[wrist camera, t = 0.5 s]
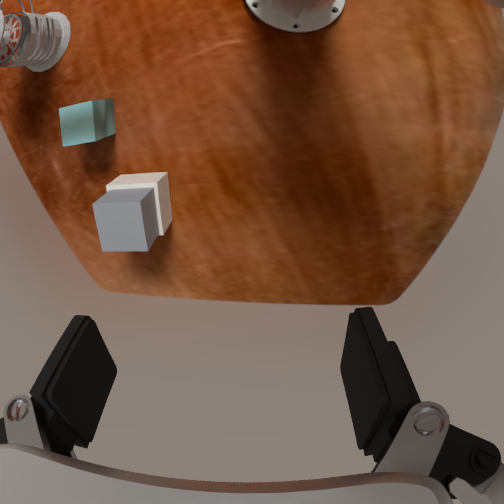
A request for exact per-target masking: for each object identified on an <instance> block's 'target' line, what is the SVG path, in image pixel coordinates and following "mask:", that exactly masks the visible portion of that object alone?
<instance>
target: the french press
mask: <svg viewBox="0 0 504 504" xmlns="http://www.w3.org/2000/svg"><path fill="white" fill-rule="evenodd" d="M3 1H4V0H2V1H1V2H0V5H1V4H2V2H3ZM18 1H19V2H20V3H21V5H22V8H23V12H17V13H23V15H24V16H22V15H17V14H16V13H9V14H6V15H5V16H4V15H3V12H2V11H4V10H5V9H3V8H0V66H1V67H12V66H26V67H28V68H29V69H30V70H32V71H34V72H43V71H45V70H47V69H49V68H51V67H52V66H53V65H54V64H56V63H57V62H58V61H59V60H60V59H61V57H62V55H63V54H64V52H65V50H66V49H67V46H68V42H69V39H70V23H69V21H68V19H67V17H66V16H65V15H63V14H61V13H59V12H49V13H47V14H45V15H42V14H37V13H34V11H33V4H32V1H31V0H29V2H30V4H31V10H32V13H33V14H32V13H27V12H25V9H24V6H23V3H22V2H21V1H20V0H18ZM25 14H27V15H28V16H26V15H25ZM35 16H37V18H35ZM24 27H26V28H25V29H24V30H23V28H24ZM17 49H18V51H19V54H20V57H19V56H18V54H17V52H16V50H17ZM13 54H15V56H16V58H17V60H15V58H14V56H13ZM10 58H12V60H13V61H14V63H12V62H11V60H10ZM7 61H8V62H9V63H10V64H11V65H8V64H7V63H6V62H7Z"/></svg>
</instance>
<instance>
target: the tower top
mask: <svg viewBox="0 0 504 504" xmlns="http://www.w3.org/2000/svg"><path fill="white" fill-rule="evenodd" d="M93 209H94V214H95V219H96V224H97V229H98V233H99V238H100V242H101V246H102V251H149V249H150V247H151V246H152V244H153V242H154V241H155V239H156V237H157V236H158V234H159V225H158V217H157V209H156V201H155V192H154V187H148V188H130V189H115V190H109V191H108V192H107V193H106V194H104V195H103V196H102V197H101V198H99V199H98V200H97V201H96V202H95V203H93Z"/></svg>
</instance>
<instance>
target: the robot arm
mask: <svg viewBox="0 0 504 504" xmlns="http://www.w3.org/2000/svg"><path fill="white" fill-rule="evenodd" d="M345 1H346V0H245V2H246V4H247V6H248V8H249V9H250V10H251V11H252V13H253V14H254V15H255V16H256V17H257V18H259V19H260V20H261V21H262V22H264V23H266V24H267V25H269V26H271V27H274V28H276V29H279V30H283V31H287V32H295V33H302V32H311V31H315V30H318V29H321V28H323V27H325V26H327V25H329V24H330V23H332V22H333V21H334V20H335V19H336V18H337V17H338V16H339V15H340V13H341V12H342V10H343V8H344V5H345ZM481 1H483V2H485V3H487V4H490V5H492V6H495V7H498V8H504V0H481ZM254 5H257V6H258V7H257V8H254V7H253V6H254ZM332 10H334V11H335V13H333V12H332ZM294 25H296V26H297V28H294V27H293V26H294ZM340 368H341V375H342V379H343V383H344V387H345V391H346V396H347V400H348V404H349V409H350V413H351V417H352V422H353V427H354V431H355V436H356V441H357V445H358V448H359V449H360V450H361V449H363V450H364V455H365V456H368V455H373V458H374V461H375V462H377V464H376V465H375V467H374V468H373V470H372V471H371V473H364V474H356V475H348V476H339V477H331V478H322V479H313V480H299V481H284V482H256V483H255V482H254V483H242V482H240V483H239V482H237V483H236V482H211V481H197V480H185V479H176V478H167V477H160V476H153V475H146V474H140V473H135V472H129V471H124V470H119V469H114V468H110V467H105V466H101V465H97V464H93V463H89V462H85V461H81V460H78V459H77V457H76V455H75V452H74V450H73V447H74V444H75V445H76V446H80V447H83V448H88V445H89V442H92V440H93V438H94V435H95V432H96V429H97V426H98V423H99V421H100V418H101V415H102V412H103V409H104V407H105V404H106V401H107V398H108V395H109V393H110V390H111V388H112V385H113V383H114V380H115V377H116V374H117V368H116V365H115V363H114V361H113V359H112V357H111V355H110V353H109V351H108V349H107V347H106V345H105V343H104V341H103V339H102V336H101V334H100V332H99V330H98V328H97V325H96V323H95V321H94V320H92V319H91V317H89V316H82V315H76V316H74V317H73V319H72V320H71V322H70V324H69V325H68V327H67V328H66V330H65V331H64V333H63V335H62V336H61V338H60V340H59V341H58V343H57V345H56V346H55V348H54V350H53V351H52V353H51V355H50V356H49V358H48V360H47V362H46V363H45V365H44V367H43V369H42V370H41V372H40V374H39V376H38V377H37V379H36V381H35V383H34V385H33V387H32V389H31V390H30V394H31V395H32V397H31V398H29V397H27V396H25V395H18V396H15V397H13V398H12V399H10V401H8V403H7V404H6V406H5V408H4V417H3V418H1V419H0V504H453V502H452V499H459V500H460V501H461V502H462V503H463V504H504V464H503V463H502V462H501V455H500V452H499V450H498V448H497V447H496V446H495V445H494V444H493V443H491V442H489V441H486V440H484V439H482V438H480V437H477V436H475V435H473V434H471V433H468V432H466V431H464V430H462V429H459V428H457V427H455V426H453V425H451V424H449V423H450V421H449V415H448V414H447V411H446V410H445V409H444V408H443V407H442V406H441V405H439V404H437V403H434V402H430V401H427V402H421V401H420V398H419V396H418V393H417V391H416V389H415V386H414V383H413V381H412V379H411V376H410V374H409V371H408V369H407V367H406V364H405V362H404V360H403V357H402V355H401V353H400V351H399V348H398V346H397V345H396V343H395V342H394V341H387V339H386V337H385V335H384V332H383V330H382V328H381V326H380V323H379V321H378V319H377V317H376V314H375V312H374V310H373V308H372V307H364V308H356V309H355V311H354V313H350V315H349V321H348V326H347V332H346V338H345V343H344V349H343V354H342V359H341V367H340Z"/></svg>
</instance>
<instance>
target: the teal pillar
mask: <svg viewBox="0 0 504 504" xmlns="http://www.w3.org/2000/svg"><path fill="white" fill-rule="evenodd" d="M59 114H60V125H61V134H62V142H63V147H65V146H70V145H76V144H82V143H88V142H94V141H98V140H100V139H103V138H105V137H108V136H110V135H113V134H116V131H115V119H114V105H113V98H109V99H101V100H94V101H89V102H84V103H80V104H75V105H71V106H67V107H63V108H59Z"/></svg>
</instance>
